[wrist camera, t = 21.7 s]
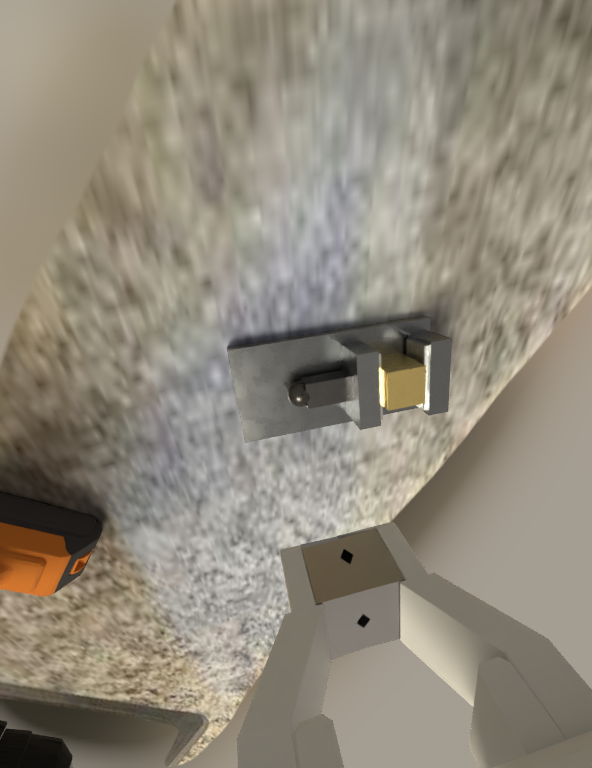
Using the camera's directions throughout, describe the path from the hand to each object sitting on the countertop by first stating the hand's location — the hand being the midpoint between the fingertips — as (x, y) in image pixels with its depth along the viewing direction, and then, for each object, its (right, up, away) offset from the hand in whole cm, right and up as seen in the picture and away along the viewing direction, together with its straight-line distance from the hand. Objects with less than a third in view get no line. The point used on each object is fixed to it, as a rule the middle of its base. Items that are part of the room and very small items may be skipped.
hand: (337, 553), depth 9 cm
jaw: (+3, +5, +33) cm, 33 cm away
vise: (+4, +5, +35) cm, 35 cm away
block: (+10, +6, +34) cm, 36 cm away
